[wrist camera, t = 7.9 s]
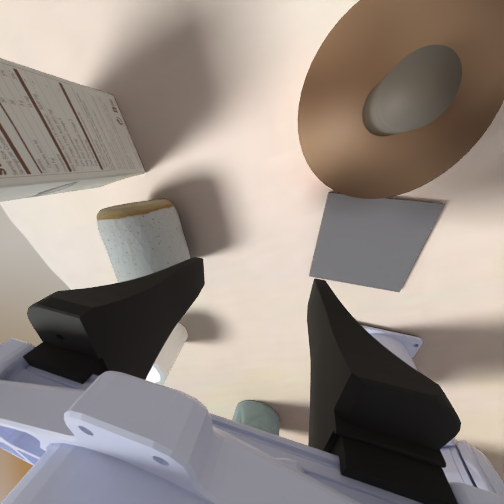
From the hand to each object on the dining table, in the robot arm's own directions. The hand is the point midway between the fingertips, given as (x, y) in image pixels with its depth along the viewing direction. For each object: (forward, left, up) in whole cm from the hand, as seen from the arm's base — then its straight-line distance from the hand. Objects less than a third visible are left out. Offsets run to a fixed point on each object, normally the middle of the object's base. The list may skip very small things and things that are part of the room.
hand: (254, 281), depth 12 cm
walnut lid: (+10, -6, -5) cm, 13 cm away
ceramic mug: (-2, +14, -10) cm, 17 cm away
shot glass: (-20, +15, -10) cm, 27 cm away
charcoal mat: (0, -9, -9) cm, 13 cm away
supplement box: (+7, +19, -10) cm, 22 cm away
